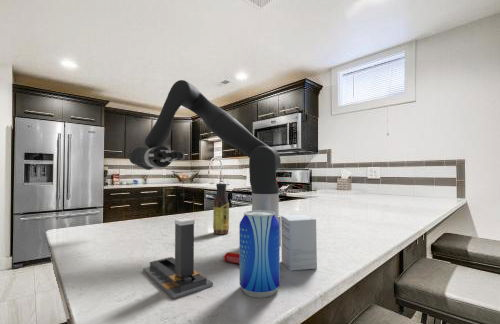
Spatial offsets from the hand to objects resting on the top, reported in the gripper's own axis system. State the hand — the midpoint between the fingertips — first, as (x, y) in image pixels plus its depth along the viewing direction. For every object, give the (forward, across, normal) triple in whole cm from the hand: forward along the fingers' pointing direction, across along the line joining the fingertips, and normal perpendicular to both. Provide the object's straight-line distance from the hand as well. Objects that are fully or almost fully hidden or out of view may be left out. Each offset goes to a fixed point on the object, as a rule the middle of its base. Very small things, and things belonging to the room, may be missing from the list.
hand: (178, 154), depth 80 cm
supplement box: (+30, -20, -30) cm, 47 cm away
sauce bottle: (-12, -24, -30) cm, 40 cm away
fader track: (+18, +8, -30) cm, 36 cm away
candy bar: (+22, -10, -30) cm, 39 cm away
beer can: (+34, -3, -30) cm, 46 cm away
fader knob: (+22, +8, -29) cm, 37 cm away
